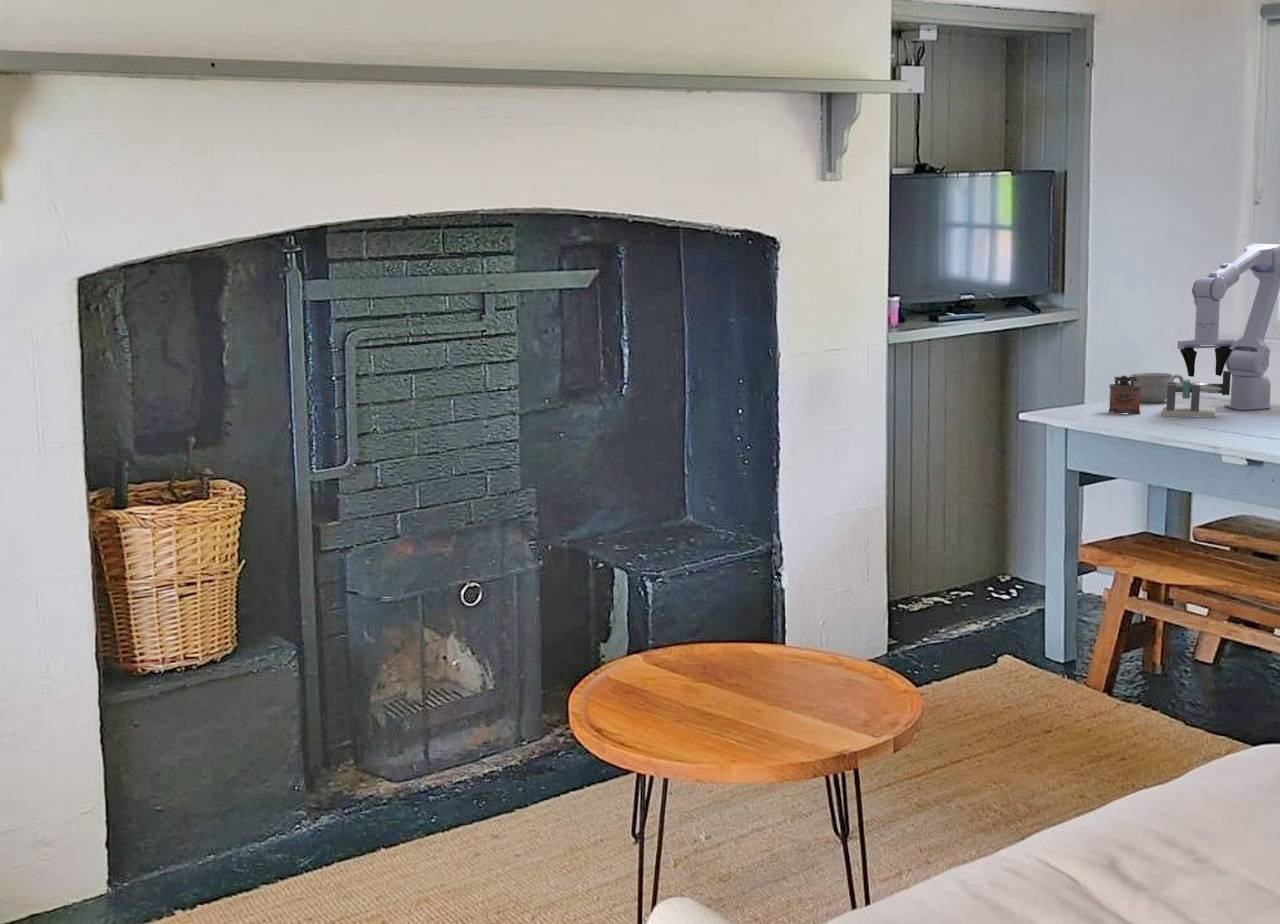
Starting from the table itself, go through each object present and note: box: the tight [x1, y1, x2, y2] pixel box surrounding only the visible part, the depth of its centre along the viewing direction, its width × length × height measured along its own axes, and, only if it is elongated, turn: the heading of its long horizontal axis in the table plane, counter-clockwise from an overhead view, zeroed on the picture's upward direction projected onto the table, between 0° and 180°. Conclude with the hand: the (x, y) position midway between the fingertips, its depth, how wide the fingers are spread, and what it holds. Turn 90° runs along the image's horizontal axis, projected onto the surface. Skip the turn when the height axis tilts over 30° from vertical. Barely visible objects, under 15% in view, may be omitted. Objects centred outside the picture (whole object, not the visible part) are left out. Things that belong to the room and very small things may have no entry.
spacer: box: [1181, 379, 1191, 400], centre depth 410 cm, size 2×4×4 cm, turn 160°
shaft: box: [1175, 370, 1232, 396], centre depth 408 cm, size 14×2×6 cm, turn 70°
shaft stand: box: [1161, 381, 1216, 418], centre depth 410 cm, size 13×9×8 cm
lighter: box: [1108, 374, 1141, 415], centre depth 413 cm, size 8×3×10 cm, turn 62°
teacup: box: [1131, 372, 1185, 403], centre depth 432 cm, size 14×11×8 cm
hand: (1204, 375), depth 407 cm, fingers open, 7 cm apart
